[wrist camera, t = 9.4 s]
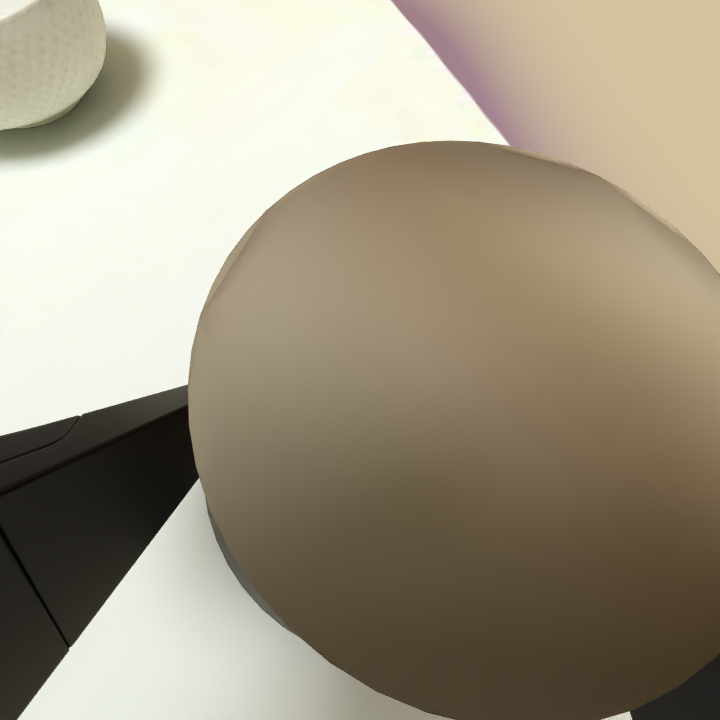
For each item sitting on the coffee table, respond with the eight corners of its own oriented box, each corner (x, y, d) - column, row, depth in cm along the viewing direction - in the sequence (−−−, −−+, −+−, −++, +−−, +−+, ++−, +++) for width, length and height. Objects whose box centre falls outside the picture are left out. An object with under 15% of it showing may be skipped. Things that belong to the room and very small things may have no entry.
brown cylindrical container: (373, 525, 14) (479, 1012, 2) (305, 428, 15) (83, 302, 3) (460, 447, 15) (916, 396, 3) (389, 364, 16) (478, 78, 4)
